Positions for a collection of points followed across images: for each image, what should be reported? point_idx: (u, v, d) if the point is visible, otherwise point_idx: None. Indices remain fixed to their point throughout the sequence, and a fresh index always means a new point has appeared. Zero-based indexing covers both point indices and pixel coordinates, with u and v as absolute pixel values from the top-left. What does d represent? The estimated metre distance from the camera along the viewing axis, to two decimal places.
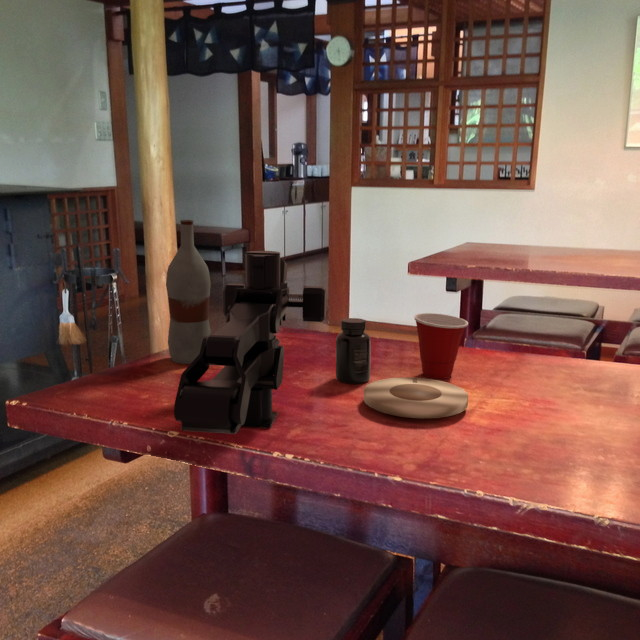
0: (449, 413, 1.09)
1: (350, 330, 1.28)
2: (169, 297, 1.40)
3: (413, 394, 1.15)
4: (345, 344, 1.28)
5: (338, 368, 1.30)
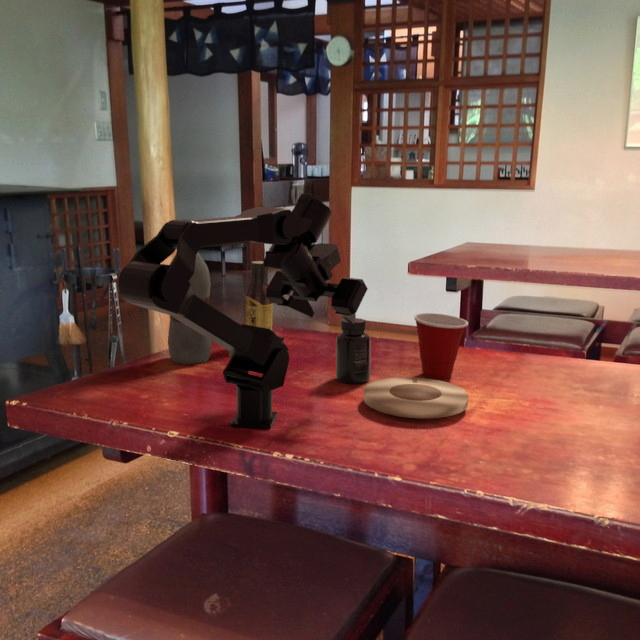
0: (449, 413, 1.09)
1: (350, 330, 1.28)
2: None
3: (413, 394, 1.15)
4: (345, 344, 1.28)
5: (338, 368, 1.30)
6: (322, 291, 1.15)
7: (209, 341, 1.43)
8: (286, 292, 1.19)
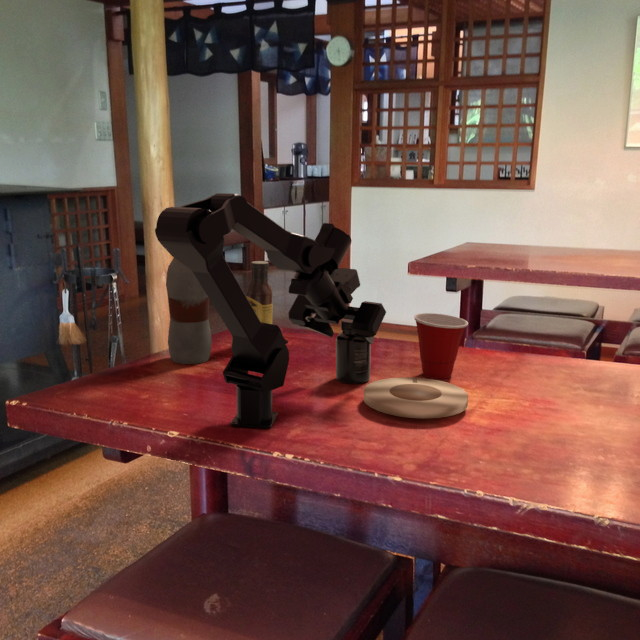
0: (449, 413, 1.09)
1: (350, 330, 1.28)
2: (169, 297, 1.40)
3: (413, 394, 1.15)
4: (345, 344, 1.28)
5: (338, 368, 1.30)
6: (343, 314, 1.21)
7: (209, 341, 1.43)
8: (308, 314, 1.26)
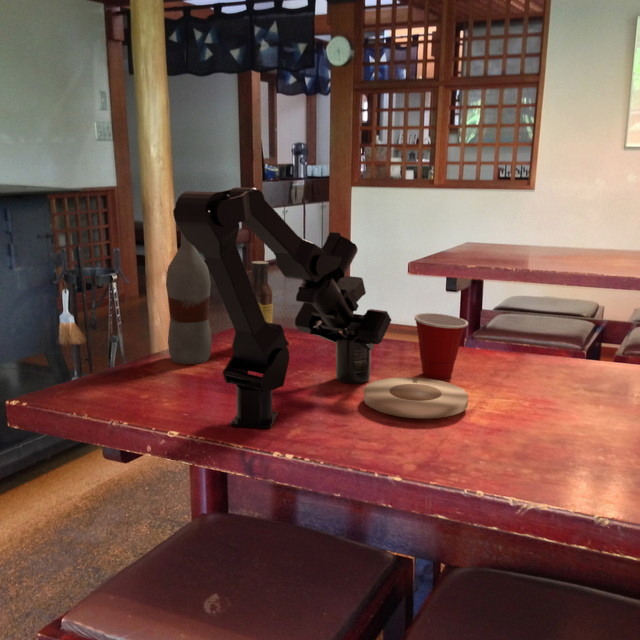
0: (449, 413, 1.09)
1: (350, 330, 1.28)
2: (169, 297, 1.40)
3: (413, 394, 1.15)
4: (345, 344, 1.28)
5: (338, 368, 1.30)
6: (349, 322, 1.23)
7: (209, 341, 1.43)
8: (319, 322, 1.27)
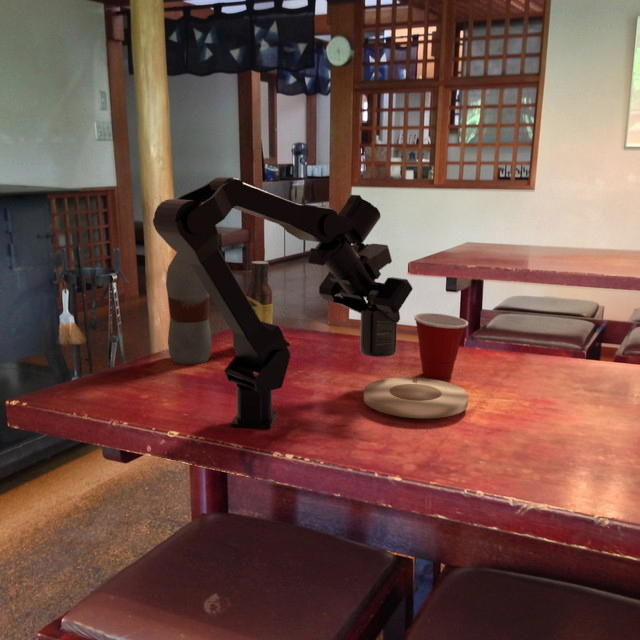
0: (449, 413, 1.09)
1: (374, 300, 1.22)
2: (169, 297, 1.40)
3: (413, 394, 1.15)
4: (368, 314, 1.22)
5: (361, 339, 1.25)
6: (368, 289, 1.18)
7: (209, 341, 1.43)
8: None
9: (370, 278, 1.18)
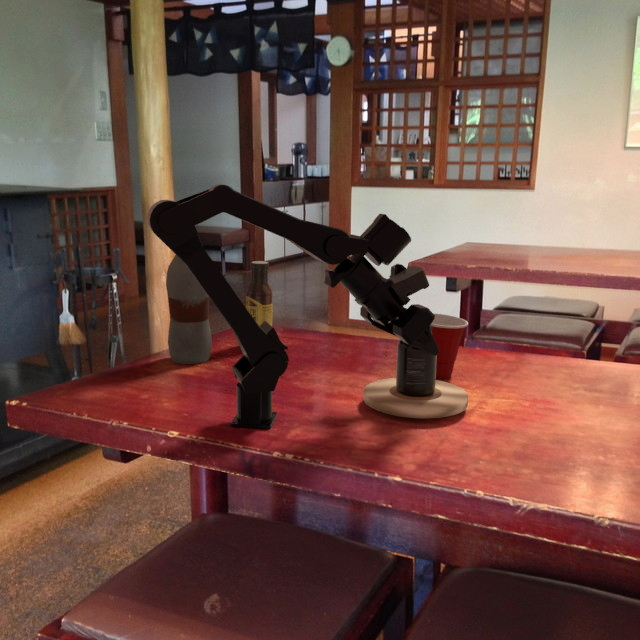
0: (449, 413, 1.09)
1: None
2: (169, 297, 1.40)
3: None
4: (400, 350, 1.14)
5: (396, 375, 1.16)
6: (393, 316, 1.09)
7: (209, 341, 1.43)
8: None
9: (395, 303, 1.09)
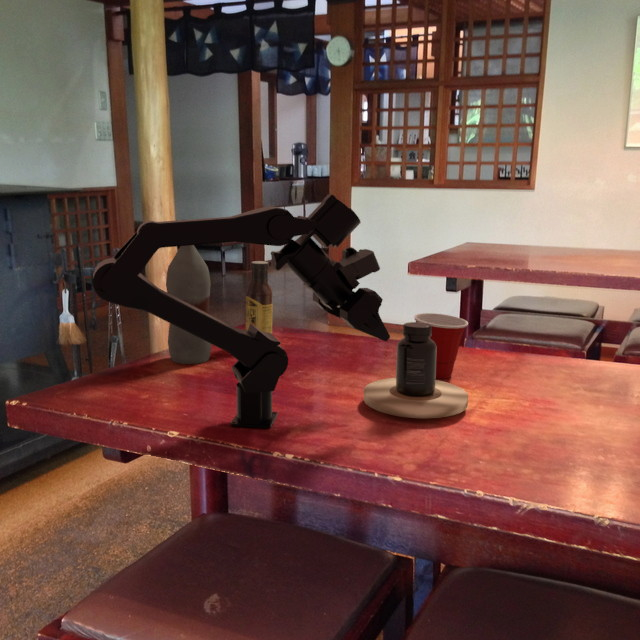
0: (449, 413, 1.09)
1: (406, 335, 1.13)
2: None
3: None
4: (399, 350, 1.14)
5: (396, 375, 1.16)
6: (341, 300, 1.06)
7: None
8: None
9: (344, 287, 1.06)
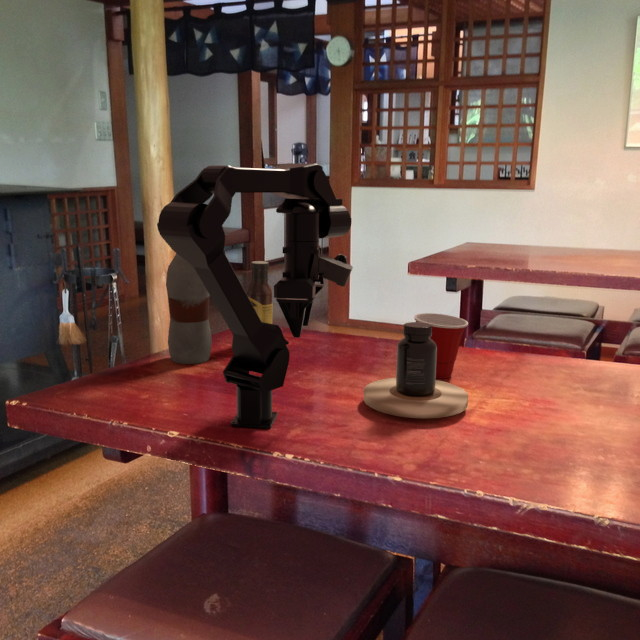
0: (449, 413, 1.09)
1: (407, 335, 1.13)
2: (169, 297, 1.40)
3: None
4: (400, 350, 1.14)
5: (396, 375, 1.16)
6: (294, 277, 1.10)
7: (209, 341, 1.43)
8: None
9: (304, 270, 1.10)
